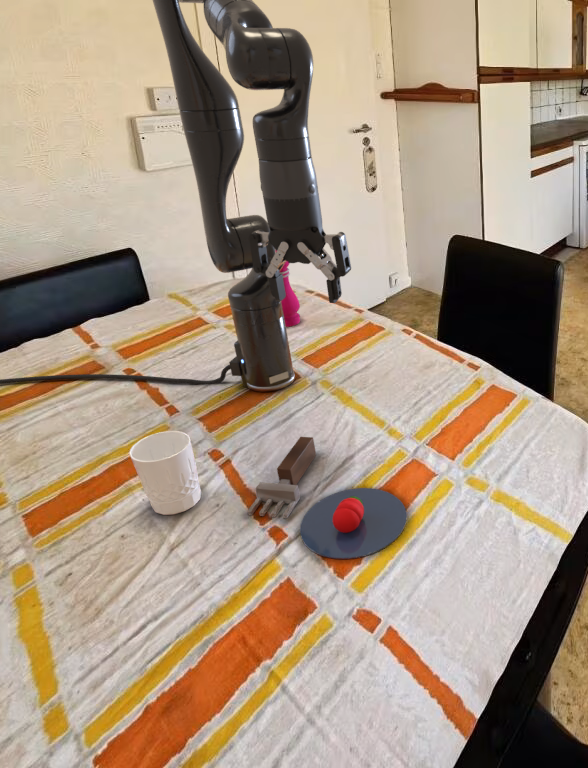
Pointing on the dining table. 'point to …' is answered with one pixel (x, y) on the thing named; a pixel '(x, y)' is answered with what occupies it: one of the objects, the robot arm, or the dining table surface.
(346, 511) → the strawberry
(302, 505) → the dining table surface
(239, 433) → the dining table surface
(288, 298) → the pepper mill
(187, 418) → the dining table surface
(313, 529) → the plate
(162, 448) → the white cup
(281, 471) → the fork
